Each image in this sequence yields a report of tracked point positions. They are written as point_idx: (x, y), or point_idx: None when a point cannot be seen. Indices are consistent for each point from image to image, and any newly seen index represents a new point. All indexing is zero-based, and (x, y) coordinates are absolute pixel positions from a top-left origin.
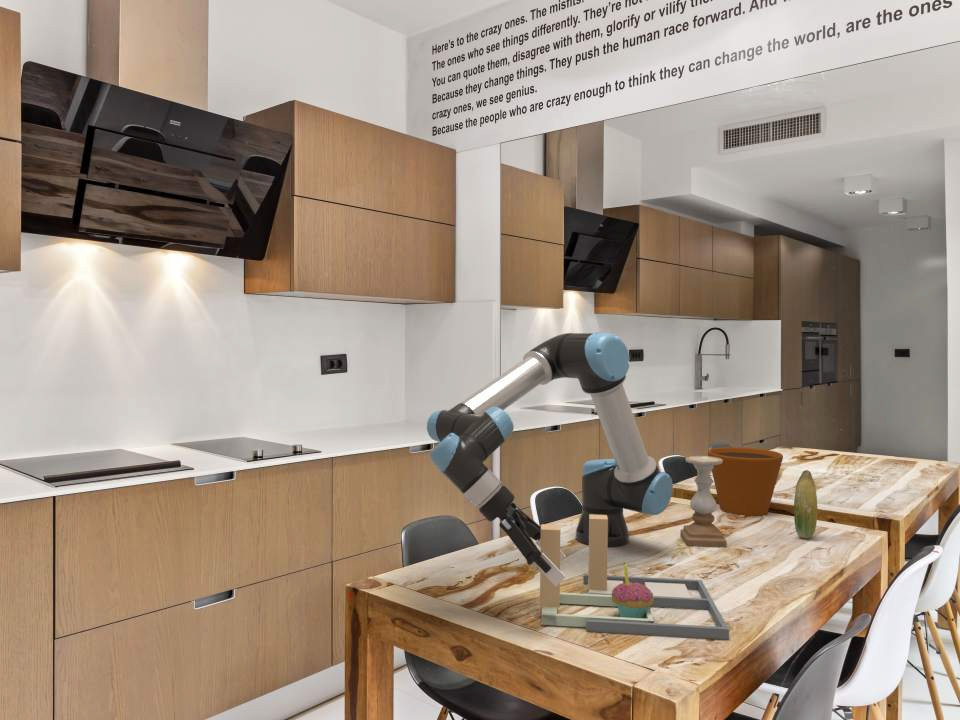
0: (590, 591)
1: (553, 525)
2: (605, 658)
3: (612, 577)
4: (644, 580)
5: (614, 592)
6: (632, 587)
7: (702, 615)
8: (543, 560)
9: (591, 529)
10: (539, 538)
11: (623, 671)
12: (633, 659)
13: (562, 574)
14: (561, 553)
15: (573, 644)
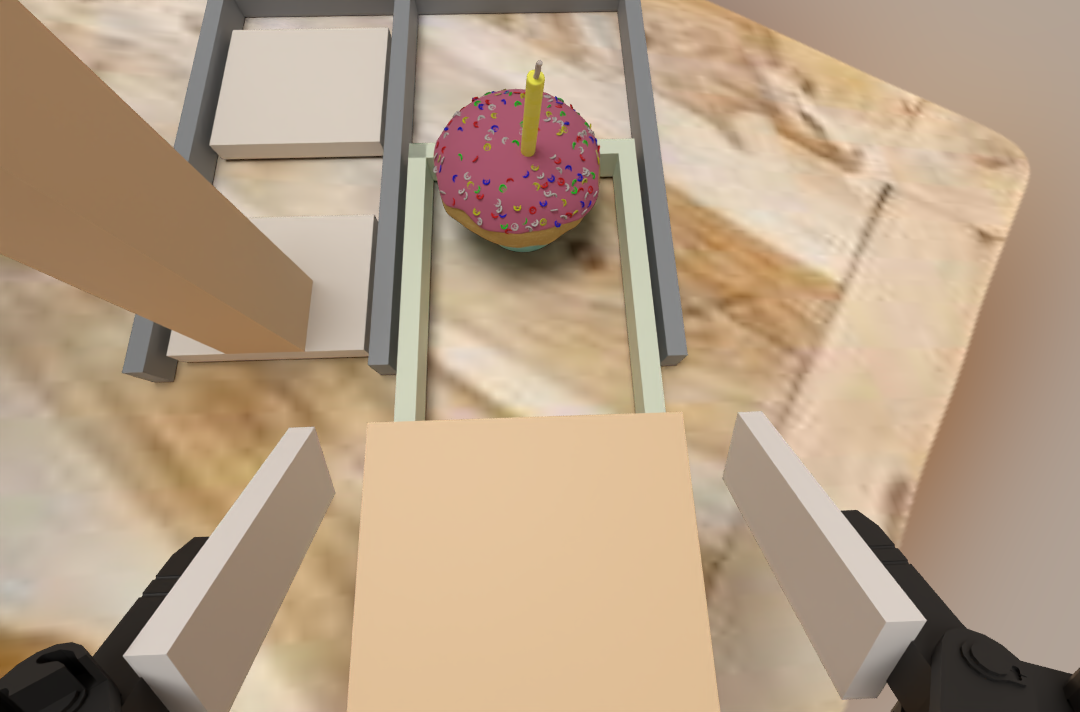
0: (326, 344)
1: (407, 545)
2: (866, 307)
3: None
4: (198, 143)
5: (543, 218)
6: (549, 133)
7: (465, 33)
8: (920, 591)
9: (21, 162)
10: (159, 707)
11: (931, 260)
12: (841, 231)
13: (774, 429)
14: (299, 456)
15: (798, 408)
